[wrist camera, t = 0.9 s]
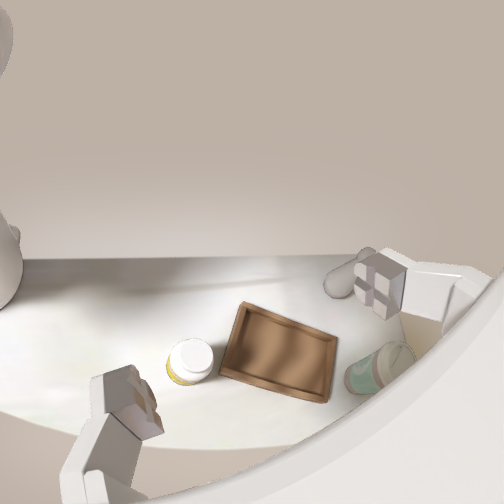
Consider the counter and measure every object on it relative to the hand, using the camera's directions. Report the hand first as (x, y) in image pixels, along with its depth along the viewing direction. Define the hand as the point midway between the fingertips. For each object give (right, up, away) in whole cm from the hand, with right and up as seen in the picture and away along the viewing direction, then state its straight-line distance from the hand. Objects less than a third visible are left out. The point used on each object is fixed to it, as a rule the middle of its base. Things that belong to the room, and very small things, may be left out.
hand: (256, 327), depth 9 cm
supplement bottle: (-10, -14, +29) cm, 34 cm away
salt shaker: (+16, -5, +47) cm, 50 cm away
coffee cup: (+19, -21, +38) cm, 47 cm away
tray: (+4, -15, +35) cm, 38 cm away
